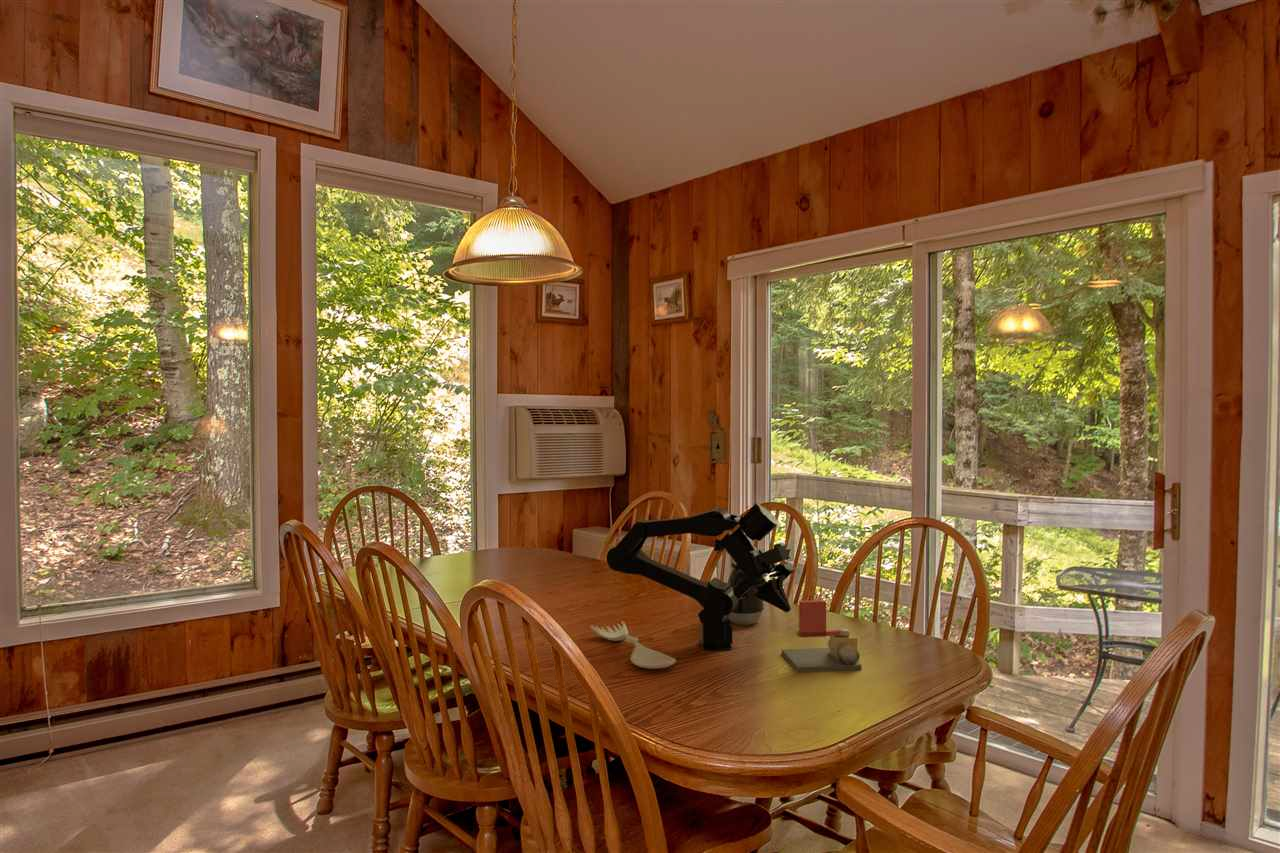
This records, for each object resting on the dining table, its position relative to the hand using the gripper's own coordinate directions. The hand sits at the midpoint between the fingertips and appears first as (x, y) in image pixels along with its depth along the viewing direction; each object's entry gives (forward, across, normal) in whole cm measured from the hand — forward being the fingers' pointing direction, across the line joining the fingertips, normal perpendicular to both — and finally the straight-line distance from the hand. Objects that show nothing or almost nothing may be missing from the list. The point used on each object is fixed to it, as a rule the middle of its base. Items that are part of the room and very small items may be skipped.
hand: (788, 610), depth 169 cm
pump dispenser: (-9, +20, +24) cm, 32 cm away
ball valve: (+14, +5, 0) cm, 15 cm away
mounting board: (+12, +3, +3) cm, 13 cm away
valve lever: (+8, +2, -2) cm, 9 cm away
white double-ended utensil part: (-13, -17, +29) cm, 36 cm away
